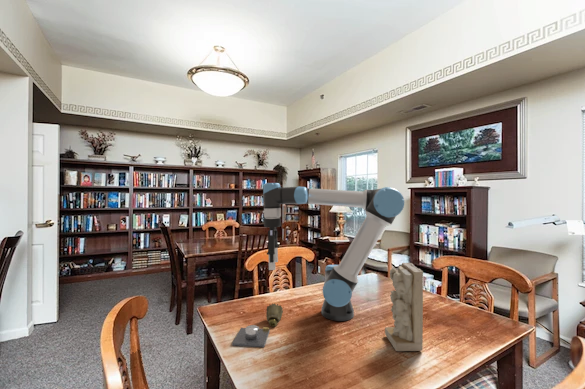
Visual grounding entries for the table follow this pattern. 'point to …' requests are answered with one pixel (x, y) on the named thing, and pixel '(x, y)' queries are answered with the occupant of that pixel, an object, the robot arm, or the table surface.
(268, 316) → the scalloped lamp shade
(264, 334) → the grey plate with knob
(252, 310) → the table surface
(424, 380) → the table surface
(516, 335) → the table surface
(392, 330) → the sculpture
